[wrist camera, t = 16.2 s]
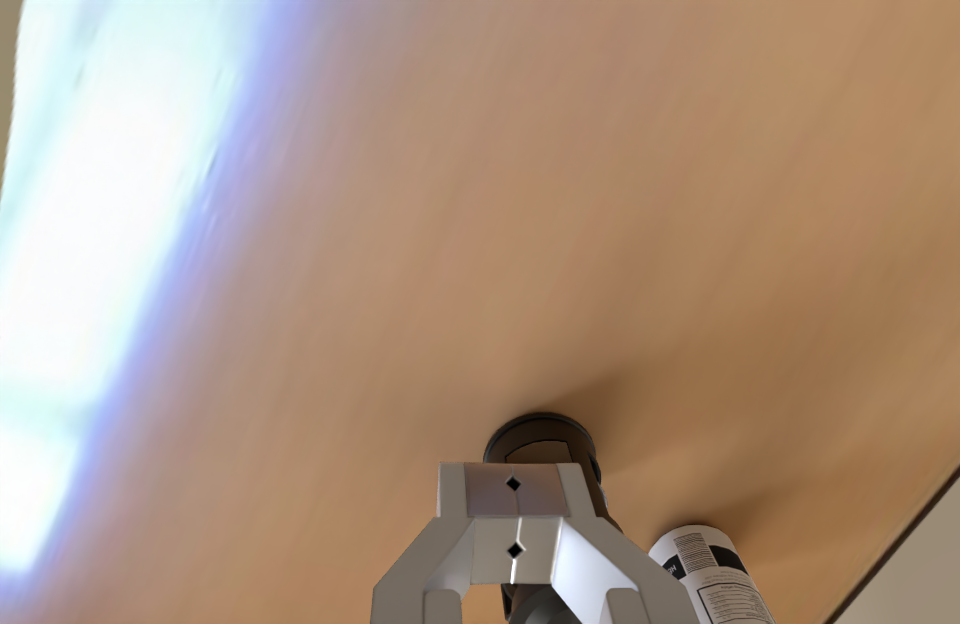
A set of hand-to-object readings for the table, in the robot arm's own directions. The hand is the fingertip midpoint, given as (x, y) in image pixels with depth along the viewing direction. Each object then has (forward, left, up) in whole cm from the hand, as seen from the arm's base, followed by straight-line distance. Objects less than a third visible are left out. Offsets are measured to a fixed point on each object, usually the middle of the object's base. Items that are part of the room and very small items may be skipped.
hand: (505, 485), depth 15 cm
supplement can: (+23, +36, -35) cm, 55 cm away
